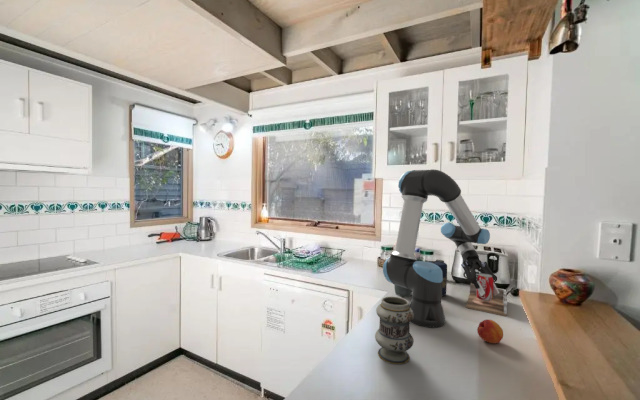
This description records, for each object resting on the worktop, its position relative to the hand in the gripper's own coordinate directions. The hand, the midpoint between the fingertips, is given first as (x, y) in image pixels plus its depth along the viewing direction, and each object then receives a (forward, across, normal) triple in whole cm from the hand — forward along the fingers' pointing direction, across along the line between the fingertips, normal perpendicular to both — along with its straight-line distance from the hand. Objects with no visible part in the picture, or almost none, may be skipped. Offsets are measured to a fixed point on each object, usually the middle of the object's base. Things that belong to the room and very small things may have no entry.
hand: (490, 294), depth 138 cm
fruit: (+25, +25, +16) cm, 39 cm away
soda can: (0, 0, -5) cm, 5 cm away
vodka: (-11, +33, -20) cm, 40 cm away
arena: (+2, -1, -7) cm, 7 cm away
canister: (-9, +16, -18) cm, 25 cm away
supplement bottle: (-27, -2, -36) cm, 45 cm away
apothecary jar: (+28, +64, +19) cm, 72 cm away
